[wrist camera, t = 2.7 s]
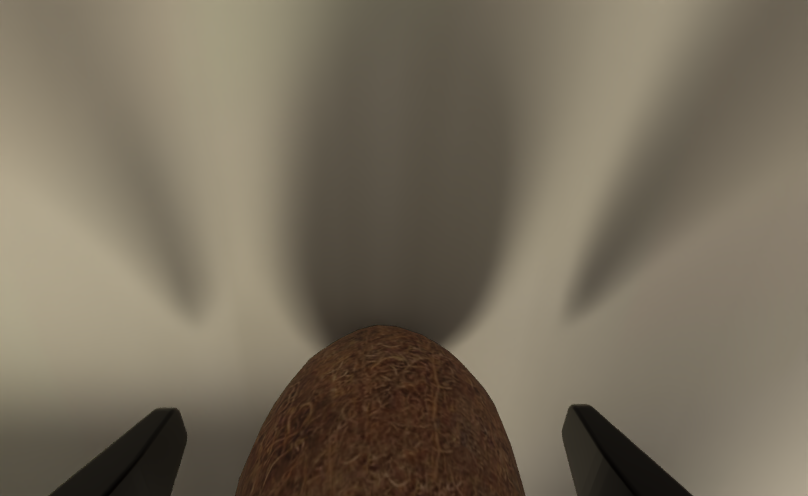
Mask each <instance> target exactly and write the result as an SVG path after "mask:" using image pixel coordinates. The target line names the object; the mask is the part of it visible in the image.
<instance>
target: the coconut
mask: <svg viewBox="0 0 808 496" xmlns="http://www.w3.org/2000/svg"><path fill="white" fill-rule="evenodd" d="M235 496H525V492H524V489H523V485H522V481H521V478H520V474H519V471H518V467H517V464H516V461H515V457H514V454H513V450H512V447H511V444H510V441H509V439H508V436H507V434H506V431H505V429H504V426H503V424H502V421H501V419H500V417H499V414H498V412H497V410H496V407H495V405H494V403H493V401H492V400H491V398H490V397H489V395H488V393H487V392H486V390H485V389H484V388H483V386H482V385H481V384H480V383H479V382H478V381H477V379H476V378H475V377H474V376H473V375H472V374H471V373H470V372H469V371H468V369H467V368H466V367H465V366H464V365H463V364H462V363H461V362H460V361H459V360H458V359H457V358H456V357H455V356H453V355H452V354H451V353H450V352H449V351H448V350H446V349H445V348H443V347H442V346H440V345H439V344H437V343H435V342H434V341H432V340H430V339H428V338H426V337H425V336H423V335H421V334H418V333H415V332H412V331H409V330H406V329H402V328H399V327H396V326H382V325H376V326H372V327H367V328H363V329H359V330H357V331H355V332H353V333H351V334H348V335H346V336H344V337H342V338H341V339H339V340H337V341H335V342H334V343H332V344H331V345H329V346H328V347H326V348H324V349H323V350H321V351H320V352H318V353H317V354H316V355H314V356H313V357H312V358H310V359H309V360H308V362H307V363H306V364H305V365H304V366H303V367H302V369H301V370H300V371H299V372H298V373H297V375H296V376H295V377H294V378H293V380H292V381H291V382H290V383H289V384H288V386H287V387H286V388H285V390H284V391H283V393H282V394H281V395H280V397H279V398H278V400H277V401H276V403H275V404H274V406H273V408H272V409H271V411H270V413H269V415H268V416H267V418H266V420H265V422H264V423H263V425H262V428H261V430H260V432H259V434H258V436H257V439H256V441H255V443H254V445H253V448H252V450H251V452H250V455H249V457H248V459H247V462H246V464H245V466H244V469H243V471H242V473H241V476H240V478H239V482H238V486H237V490H236V494H235Z"/></svg>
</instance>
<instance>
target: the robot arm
mask: <svg viewBox="0 0 808 496" xmlns="http://www.w3.org/2000/svg"><path fill="white" fill-rule="evenodd" d="M562 438H563V443H564V447H565V451H566V454H567V458H568V462H569V466H570V470H571V473H572V477H573V481H574V485H575V489H576V493H577V496H693V495H692V494H691V493H689V492H688V491H687V490H686V489H685V488H684V487H683V486H681V485H680V484H679V483H678V482H677V481H676V480H675V479H674V478H672V477H671V476H670V475H669V474H668V473H667V472H666V471H664V470H663V469H662V468H661V467H660V466H659V465H658V464H657V463H655V462H654V461H653V460H652V459H651V458H650V457H649V456H648V455H646V454H645V453H644V452H643V451H642V450H641V449H640V448H638V447H637V446H636V445H635V444H634V443H633V442H632V441H631V440H629V439H628V438H627V437H626V436H625V435H624V434H623V433H621V432H620V431H619V430H618V429H617V428H616V427H615V426H614V425H612V424H611V423H610V422H609V421H608V420H607V419H606V418H605V417H603V416H602V415H601V414H600V413H599V412H598V411H597V410H595V409H594V408H593V407H592V406H590V405H588V404H573V405H571V406H570V407H569V408H568V411H567V415H566V418H565V421H564V425H563V428H562ZM186 442H187V432H186V429H185V426H184V423H183V420H182V417H181V414H180V411H179V410H178V409H177V408H157V409H155V410H154V411H152V412H151V413H150V414H148V415H147V416H146V417H145V418H144V419H142V420H141V421H140V422H139V423H137V424H136V425H135V426H134V427H132V428H131V429H130V430H129V431H127V432H126V433H125V434H124V435H123V436H121V437H120V438H119V439H118V440H116V441H115V442H114V443H113V444H111V445H110V446H109V447H108V448H107V449H105V450H104V451H103V452H102V453H100V454H99V455H98V456H97V457H95V458H94V459H93V460H92V461H90V462H89V463H88V464H87V465H86V466H84V467H83V468H82V469H81V470H79V471H78V472H77V473H76V474H74V475H73V476H72V477H71V478H70V479H68V480H67V481H66V482H65V483H63V484H62V485H61V486H60V487H58V488H57V489H56V490H55V491H53V492H52V493H51V494H50V495H49V496H170V495H171V491H172V488H173V485H174V482H175V478H176V475H177V472H178V469H179V466H180V462H181V459H182V456H183V453H184V449H185V446H186Z"/></svg>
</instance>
